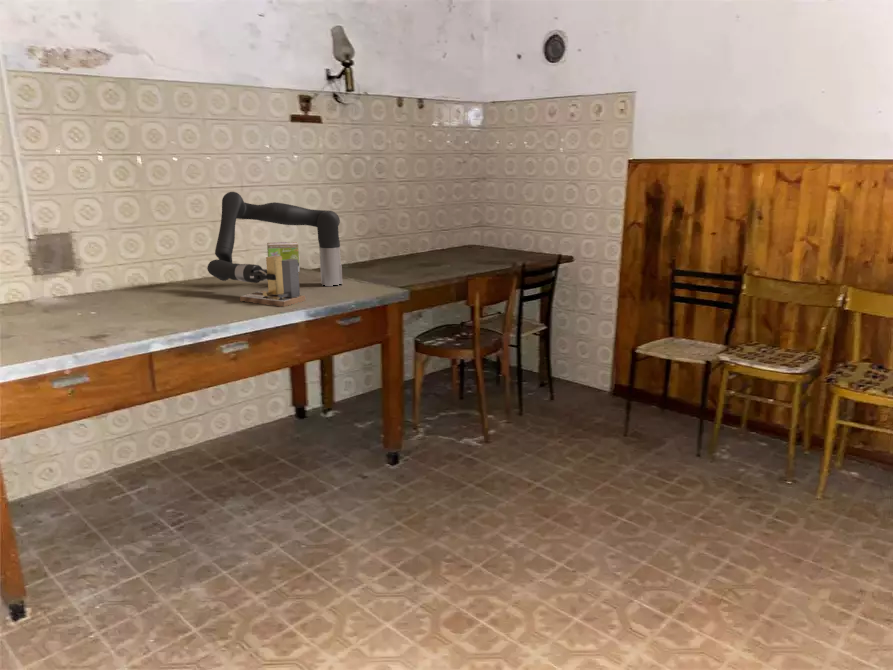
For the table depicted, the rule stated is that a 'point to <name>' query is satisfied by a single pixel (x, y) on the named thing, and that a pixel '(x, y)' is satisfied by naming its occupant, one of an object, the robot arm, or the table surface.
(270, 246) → the tea box
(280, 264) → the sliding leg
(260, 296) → the divider base
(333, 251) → the robot arm
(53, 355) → the table surface
